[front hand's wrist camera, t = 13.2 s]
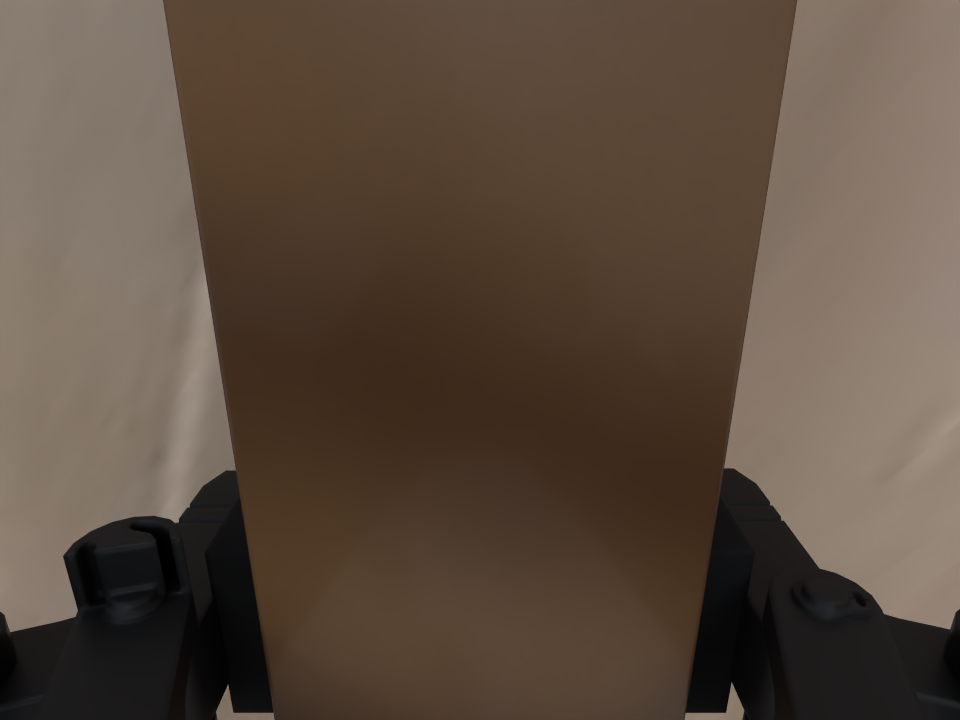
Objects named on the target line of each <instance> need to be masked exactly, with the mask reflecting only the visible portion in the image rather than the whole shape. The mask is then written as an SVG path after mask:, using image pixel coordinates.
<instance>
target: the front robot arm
mask: <svg viewBox="0 0 960 720" xmlns="http://www.w3.org/2000/svg"><path fill="white" fill-rule="evenodd" d="M63 558H64V561H65V565H66V569H67V572H68V576H69V579H70V583H71V587H72V590H73V594H74V597H75V601H76V605H77V608H78V612H77V615H76V617H74V618H70V619H67V620H63V621H60V622H55V623H51V624H46V625H41V626H37V627H32V628H28V629H23V630H19V631H14V632H10V631H9V628H8V625H7V621H6V618H5V615H4V614H2V613H1V612H0V720H217V715H216V710H217V708H218V706H219V704H220V701H221V699H222V697H223V694H224V692H225V690H226V688H227V685H229V690H230V696H231V701H232V707H233V712H234V713H274V712H273V705H272V699H271V692H270V686H269V680H268V673H267V667H266V660H265V654H264V647H263V641H262V634H261V628H260V622H259V615H258V609H257V602H256V596H255V589H254V583H253V576H252V570H251V563H250V557H249V551H248V544H247V538H246V531H245V525H244V518H243V512H242V505H241V499H240V493H239V486H238V480H237V473H236V471H225V472H223V473H222V474H220V475H219V476H217V477H216V478H214V479H213V480H212V481H210V482H209V483H207V484H206V485H204V486H203V487H202V488H201V490H200V491H199V493H198V494H197V495H196V497H195V498H194V499H193V501H192V502H191V503H190V508H187V509H186V510H185V512H184V513H183V514H182V516H181V517H180V518H179V523H176V524H175V523H174V522H173V521H172V520H170V519H166V518H161V517H157V516H143V517H132V518H128V519H123V520H119V521H115V522H112V523H109V524H107V525H104V526H102V527H100V528H97V529H95V530H93V531H91V532H89V533H88V534H86V535H85V536H83V537H82V538H80V539H79V540H78V541H76V542H75V543H73V545H72V546H71V547H70V548H69V550H68V551H67V552H66V553H65V555H64V556H63ZM731 682H732V683H733V686H734V688H735V690H736V692H737V695H738V697H739V699H740V701H741V704H742V706H743V708H744V715H743V720H960V609H959V610H958V611H957V612H956V613H955V617H954V620H953V623H952V626H951V629H950V630H949V629H945V628H940V627H936V626H931V625H927V624H922V623H917V622H913V621H908V620H904V619H899V618H896V617H892V616H889V615H885V614H883V611H882V609H881V608H880V606H879V605H878V604H877V602H876V601H875V599H874V598H873V596H872V595H871V594H869V593H868V592H867V591H865V590H864V589H863V588H862V587H860V586H859V585H858V584H856V583H855V582H853V581H851V580H849V579H847V578H845V577H843V576H841V575H838V574H836V573H834V572H830V571H826V570H822V569H819V567H818V566H817V565H816V563H815V562H814V561H813V559H812V558H811V557H810V555H809V554H808V553H807V551H806V550H805V549H804V547H803V546H802V545H801V543H800V542H799V541H798V539H797V538H796V536H795V535H794V534H793V532H792V531H791V530H790V528H789V527H788V526H787V524H786V523H785V522H784V521H781V516H780V515H779V514H778V512H777V511H776V510H775V508H774V507H773V506H770V501H769V500H768V499H767V497H766V496H765V495H764V493H763V492H762V491H761V489H760V488H759V487H758V485H757V484H756V483H754V482H753V481H751V480H750V479H748V478H747V477H745V476H744V475H742V474H741V473H739V472H738V471H736V470H735V469H724V470H723V477H722V483H721V489H720V496H719V502H718V509H717V515H716V521H715V528H714V534H713V540H712V547H711V553H710V560H709V566H708V572H707V579H706V585H705V592H704V598H703V604H702V611H701V617H700V623H699V630H698V636H697V643H696V649H695V655H694V662H693V668H692V674H691V681H690V687H689V694H688V700H687V706H686V713H726V710H727V704H728V699H729V693H730V688H731Z"/></svg>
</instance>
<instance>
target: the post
mask: <svg viewBox="0 0 960 720" xmlns="http://www.w3.org/2000/svg"><path fill="white" fill-rule="evenodd" d="M163 2H164V9H165V15H166V22H167V28H168V35H169V41H170V47H171V54H172V60H173V67H174V73H175V80H176V86H177V93H178V99H179V106H180V112H181V118H182V125H183V131H184V138H185V144H186V151H187V157H188V164H189V170H190V176H191V183H192V189H193V196H194V202H195V209H196V215H197V222H198V228H199V235H200V241H201V247H202V254H203V260H204V267H205V273H206V280H207V286H208V293H209V299H210V305H211V312H212V318H213V325H214V331H215V338H216V344H217V351H218V357H219V364H220V370H221V376H222V383H223V389H224V396H225V402H226V409H227V415H228V422H229V428H230V434H231V441H232V447H233V454H234V460H235V467H236V473H237V480H238V486H239V493H240V499H241V505H242V512H243V518H244V525H245V531H246V538H247V544H248V551H249V557H250V563H251V570H252V576H253V583H254V589H255V596H256V602H257V609H258V615H259V622H260V628H261V634H262V641H263V647H264V654H265V660H266V667H267V673H268V680H269V686H270V692H271V699H272V705H273V712H274V718H275V720H684V719H685V713H686V706H687V700H688V694H689V687H690V681H691V674H692V668H693V662H694V655H695V649H696V643H697V636H698V630H699V623H700V617H701V611H702V604H703V598H704V592H705V585H706V579H707V572H708V566H709V560H710V553H711V547H712V540H713V534H714V528H715V521H716V515H717V509H718V502H719V496H720V489H721V483H722V477H723V470H724V464H725V457H726V451H727V445H728V438H729V432H730V426H731V419H732V413H733V406H734V400H735V394H736V387H737V381H738V375H739V368H740V362H741V355H742V349H743V343H744V336H745V330H746V323H747V317H748V311H749V304H750V298H751V292H752V285H753V279H754V272H755V266H756V260H757V253H758V247H759V240H760V234H761V228H762V221H763V215H764V209H765V202H766V196H767V189H768V183H769V177H770V170H771V164H772V157H773V151H774V145H775V138H776V132H777V126H778V119H779V113H780V106H781V100H782V94H783V87H784V81H785V75H786V68H787V62H788V55H789V49H790V43H791V36H792V30H793V23H794V17H795V11H796V4H797V0H163Z"/></svg>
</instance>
